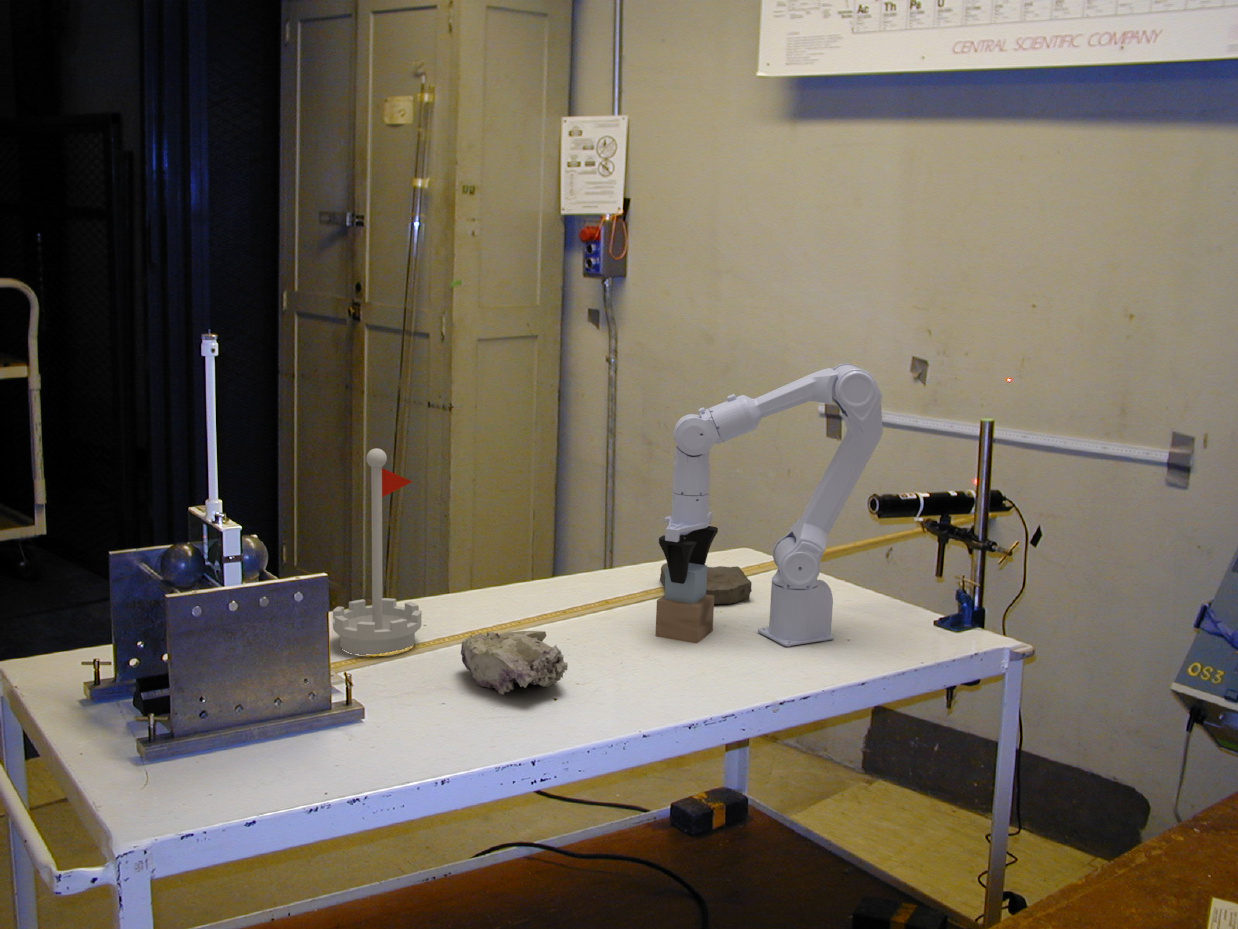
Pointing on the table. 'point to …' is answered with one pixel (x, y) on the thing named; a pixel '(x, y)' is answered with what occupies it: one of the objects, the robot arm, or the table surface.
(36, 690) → the table surface
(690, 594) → the slate cube
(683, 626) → the wood grain block
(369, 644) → the flag stand
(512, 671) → the geode
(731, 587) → the flat brown rock
